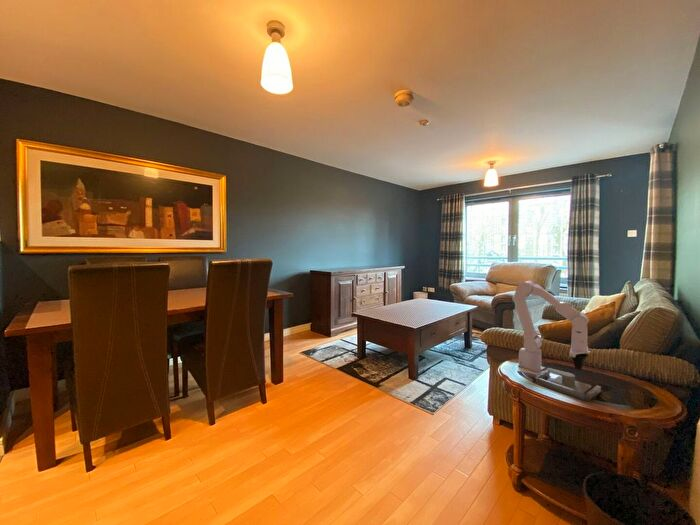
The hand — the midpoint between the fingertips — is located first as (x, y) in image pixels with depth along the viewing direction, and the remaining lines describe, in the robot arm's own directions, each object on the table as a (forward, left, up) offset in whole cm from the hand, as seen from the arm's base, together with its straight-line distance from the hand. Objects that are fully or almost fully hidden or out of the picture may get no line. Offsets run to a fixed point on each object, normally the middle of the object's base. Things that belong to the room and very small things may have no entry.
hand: (578, 368), depth 134 cm
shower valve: (-1, -11, -5) cm, 12 cm away
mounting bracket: (0, -13, -5) cm, 14 cm away
